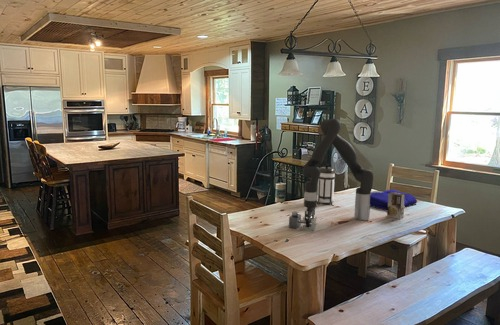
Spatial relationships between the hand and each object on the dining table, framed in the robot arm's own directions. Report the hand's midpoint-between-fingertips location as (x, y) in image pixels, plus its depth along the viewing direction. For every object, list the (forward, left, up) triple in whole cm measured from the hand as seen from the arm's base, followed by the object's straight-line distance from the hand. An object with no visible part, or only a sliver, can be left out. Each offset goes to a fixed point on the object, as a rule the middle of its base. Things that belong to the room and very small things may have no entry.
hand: (309, 224), depth 226 cm
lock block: (0, 0, -3) cm, 3 cm away
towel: (-39, -82, -3) cm, 91 cm away
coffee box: (-45, -50, -3) cm, 68 cm away
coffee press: (+5, -61, -3) cm, 61 cm away
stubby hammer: (+6, 0, -3) cm, 6 cm away
